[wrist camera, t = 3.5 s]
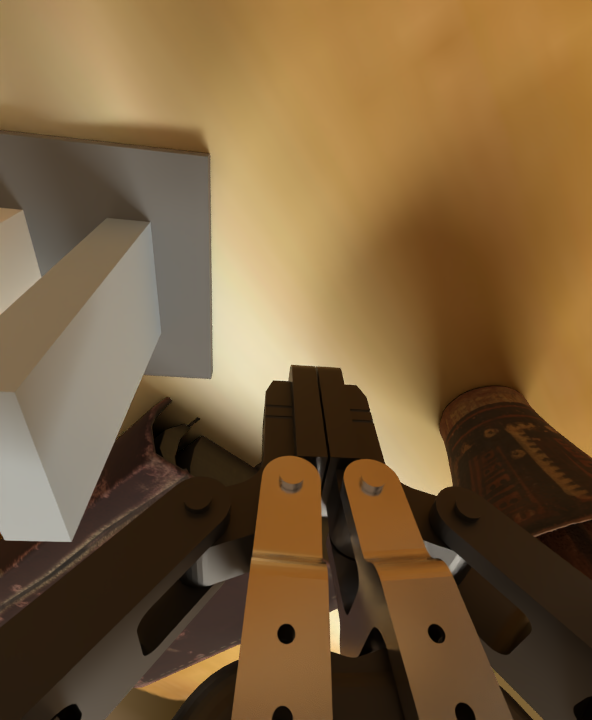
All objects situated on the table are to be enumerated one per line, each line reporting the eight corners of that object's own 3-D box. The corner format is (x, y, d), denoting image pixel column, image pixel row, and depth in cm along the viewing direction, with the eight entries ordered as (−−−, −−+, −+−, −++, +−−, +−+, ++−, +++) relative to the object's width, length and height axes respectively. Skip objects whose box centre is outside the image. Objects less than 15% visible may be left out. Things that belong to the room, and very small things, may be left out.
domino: (107, 217, 15) (-81, 387, 7) (150, 222, 16) (14, 392, 8) (124, 330, 18) (4, 540, 10) (161, 333, 19) (71, 541, 10)
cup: (353, 450, 23) (426, 639, 15) (465, 330, 20) (637, 483, 12) (452, 496, 27) (557, 670, 19) (560, 400, 24) (745, 556, 16)
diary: (-37, 559, 31) (-86, 633, 27) (163, 381, 22) (135, 453, 18) (162, 632, 40) (148, 697, 35) (371, 525, 30) (384, 597, 26)
